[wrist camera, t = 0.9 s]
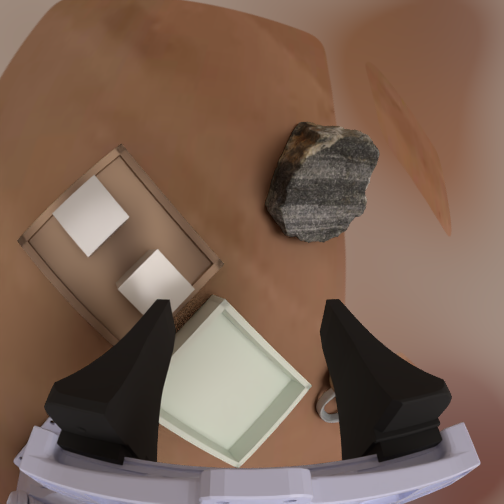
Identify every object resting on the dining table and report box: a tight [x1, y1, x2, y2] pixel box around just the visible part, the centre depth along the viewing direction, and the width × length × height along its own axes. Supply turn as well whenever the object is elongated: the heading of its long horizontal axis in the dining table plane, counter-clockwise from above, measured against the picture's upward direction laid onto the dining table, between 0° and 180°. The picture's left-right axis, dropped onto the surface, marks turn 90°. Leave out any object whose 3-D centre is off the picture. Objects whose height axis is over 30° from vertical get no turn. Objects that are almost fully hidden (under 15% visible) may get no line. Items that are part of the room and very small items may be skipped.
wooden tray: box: [17, 144, 224, 346], centre depth 23 cm, size 12×14×1 cm
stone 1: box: [52, 175, 129, 257], centre depth 20 cm, size 4×4×4 cm
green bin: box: [159, 295, 312, 468], centre depth 26 cm, size 12×14×3 cm
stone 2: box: [116, 249, 195, 315], centre depth 22 cm, size 4×4×4 cm
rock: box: [265, 122, 379, 243], centre depth 30 cm, size 14×11×10 cm
